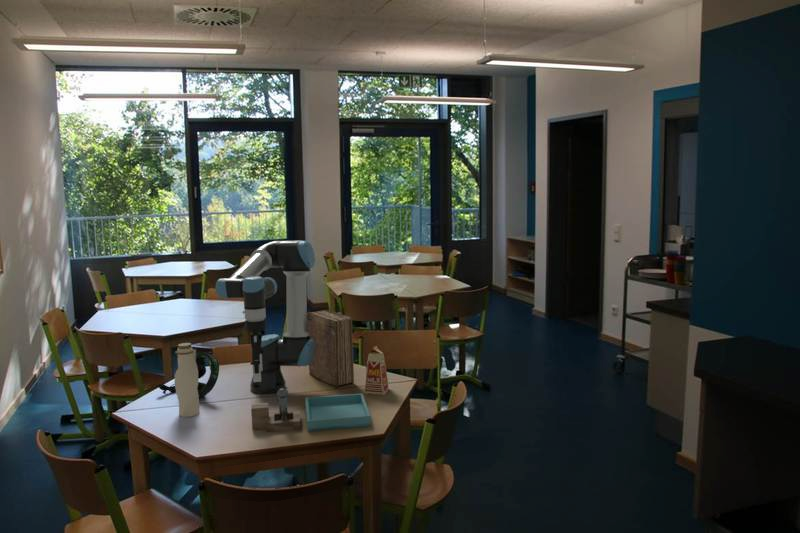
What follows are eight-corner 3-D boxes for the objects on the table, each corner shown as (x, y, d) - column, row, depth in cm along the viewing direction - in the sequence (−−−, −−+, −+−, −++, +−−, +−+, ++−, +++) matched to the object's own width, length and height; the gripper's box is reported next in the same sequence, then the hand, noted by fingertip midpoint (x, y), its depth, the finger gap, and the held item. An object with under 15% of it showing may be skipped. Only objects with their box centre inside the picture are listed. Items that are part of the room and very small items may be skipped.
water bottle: (180, 408, 267) (176, 341, 263) (203, 407, 268) (199, 340, 264) (174, 418, 257) (169, 347, 253) (198, 416, 258) (193, 346, 254)
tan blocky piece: (253, 421, 252) (252, 401, 251) (300, 417, 255) (299, 397, 254) (251, 433, 240) (250, 412, 239) (300, 429, 243) (299, 408, 242)
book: (354, 383, 295) (352, 317, 290) (336, 388, 289) (333, 320, 285) (326, 370, 315) (324, 308, 311) (309, 374, 310) (306, 311, 306)
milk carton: (384, 394, 279) (383, 348, 277) (363, 393, 281) (362, 347, 278) (389, 387, 288) (388, 342, 285) (368, 386, 290) (367, 342, 287)
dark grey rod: (278, 423, 250) (276, 387, 248) (289, 422, 250) (287, 386, 248) (278, 426, 246) (276, 390, 244) (289, 426, 246) (287, 389, 244)
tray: (305, 407, 266) (305, 397, 266) (362, 402, 270) (362, 393, 269) (307, 431, 241) (307, 421, 240) (370, 426, 244) (370, 415, 244)
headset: (182, 411, 289) (225, 389, 275) (155, 406, 279) (197, 383, 265) (183, 373, 298) (224, 349, 284) (156, 366, 288) (197, 342, 274)
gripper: (246, 313, 253) (249, 367, 255) (242, 327, 228) (245, 387, 231) (266, 312, 254) (269, 366, 257) (264, 326, 229) (267, 385, 232)
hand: (258, 376), depth 244 cm, fingers open, 13 cm apart
